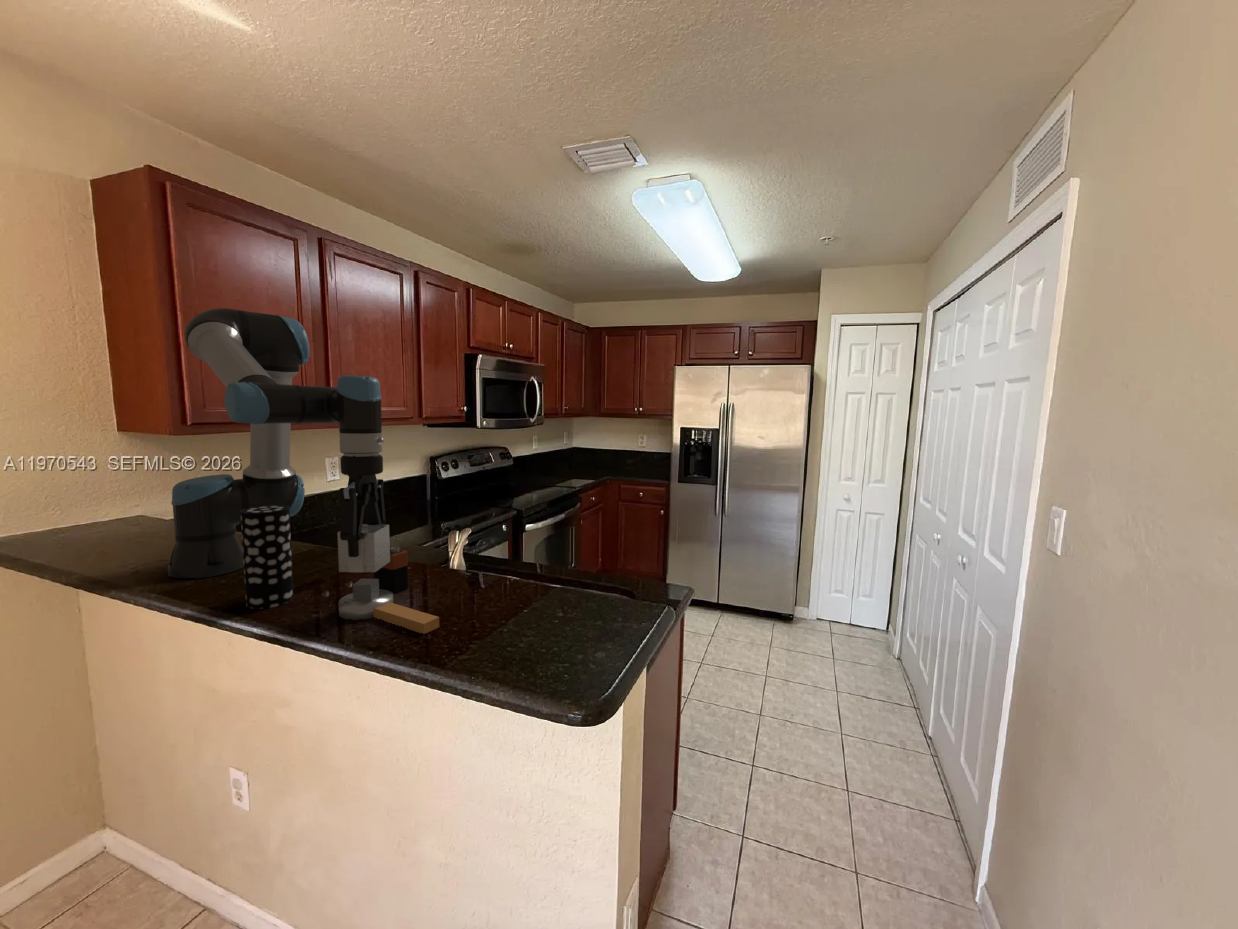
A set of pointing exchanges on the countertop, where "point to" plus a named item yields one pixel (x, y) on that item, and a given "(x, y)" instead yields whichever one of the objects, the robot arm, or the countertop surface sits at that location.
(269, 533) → the white-spotted black cylinder
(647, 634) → the countertop surface
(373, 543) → the recessed metal cube
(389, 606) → the ratchet
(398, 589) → the battery
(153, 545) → the countertop surface
